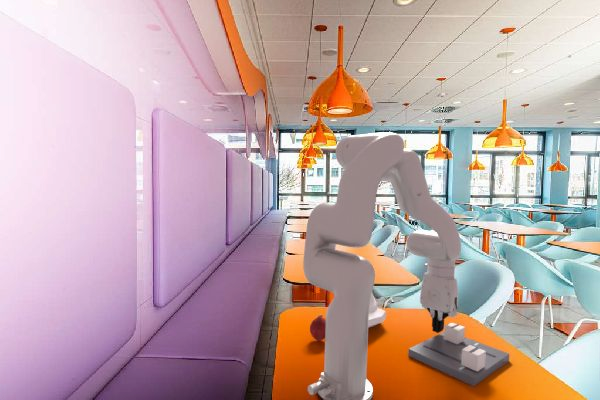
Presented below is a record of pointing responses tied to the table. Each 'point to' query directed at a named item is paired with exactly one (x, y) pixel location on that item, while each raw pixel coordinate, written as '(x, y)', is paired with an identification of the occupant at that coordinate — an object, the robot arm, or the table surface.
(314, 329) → the onion
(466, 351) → the fader
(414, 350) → the console
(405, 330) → the table surface
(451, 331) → the fader
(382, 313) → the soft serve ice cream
